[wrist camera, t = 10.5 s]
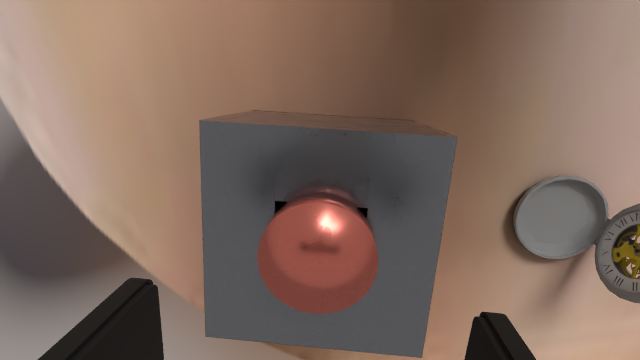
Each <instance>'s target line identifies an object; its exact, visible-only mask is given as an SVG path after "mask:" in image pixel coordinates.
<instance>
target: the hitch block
mask: <svg viewBox="0 0 640 360" xmlns="http://www.w3.org/2000/svg"><path fill="white" fill-rule="evenodd" d="M199 122H200V157H201V193H202V228H203V263H204V298H205V333H206V337H215V338H226V339H235V340H246V341H255V342H266V343H276V344H286V345H296V346H306V347H316V348H327V349H337V350H347V351H357V352H367V353H377V354H387V355H398V356H408V357H418V358H422V354H423V348H424V342H425V335H426V329H427V323H428V317H429V311H430V304H431V298H432V292H433V286H434V279H435V273H436V267H437V261H438V254H439V248H440V242H441V236H442V229H443V223H444V217H445V211H446V204H447V198H448V192H449V186H450V179H451V173H452V167H453V161H454V154H455V148H456V142H457V137H455V136H452V135H449V134H447V133H444V132H441V131H439V130H436V129H433V128H431V127H428V126H425V125H423V124H420V123H417V122H415V121H411V120H396V119H380V118H365V117H349V116H334V115H318V114H303V113H287V112H272V111H257V110H254V111H249V112H243V113H237V114H232V115H226V116H221V117H215V118H209V119H204V120H199ZM313 193H324V194H331V195H335V196H338V197H340V198H343V199H345V200H347V201H349V202H350V203H352V204H353V205H355V206H356V207H357V208H358V209H359V210H360V211H361V212H362V213H363V214H364V215H365V217H366V218H367V220H368V221H369V223H370V225H371V228H372V230H373V234H374V238H375V242H376V247H377V251H378V269H377V274H376V277H375V280H374V282H373V284H372V286H371V288H370V289H369V291H368V292H367V293H366V294H365V295H364V296H363V298H361V299H360V300H359V301H358V302H357V303H355V304H353V305H352V306H350V307H348V308H346V309H344V310H341V311H338V312H334V313H329V314H312V313H306V312H302V311H299V310H296V309H293V308H291V307H289V306H288V305H286V304H284V303H283V302H281V301H280V300H279V299H277V298H276V297H275V296H274V295H273V294H272V293H271V291H270V290H269V289H268V288H267V286H266V285H265V283H264V281H263V279H262V277H261V274H260V271H259V267H258V259H257V254H258V247H259V242H260V240H261V237H262V235H263V233H264V231H265V229H266V228H267V226H268V224H269V222H270V221H271V219H272V217H273V216H274V214H275V213H276V212H277V211H278V210H279V209H280V208H281V207H282V206H283V205H284V204H286V203H287V202H289V201H290V200H292V199H294V198H297V197H299V196H302V195H306V194H313Z"/></svg>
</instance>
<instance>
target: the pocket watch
mask: <svg viewBox="0 0 640 360" xmlns="http://www.w3.org/2000/svg"><path fill="white" fill-rule="evenodd" d="M513 225H514V229H515V233H516V236H517V238H518V239H519V241H520V242H521V244H522V245H523V246H524V247H525V248H526V249H527V250H529V251H530V252H532V253H533V254H535V255H538V256H540V257H543V258H549V259H564V258H569V257H572V256H575V255H577V254H579V253H582V252H583V251H585V250H586V249H587V248H589V247H590V246H591V245H593V244H595V245H596V249H595V264H596V270H597V272H598V275H599V277H600V279H601V281H602V282H603V283H604V285H605V286H606V287H607V289H608V290H609V291H611V292H612V293H614V294H615V295H617V296H618V297H620V298H622V299H625V300H628V301H631V302H634V303H640V276H638V278H635V276H636V274H640V243H639V244H638V243H636V241H637V238H638V237H639V236H640V204H637V205H634V206H632V207H629V208H627V209H624V210H622V211H621V212H619V213H618V214H616V215H615V216H614V217H613V218H612V219H611V220H610V219H608V204H607V201H606V199H605V197H604V195H603V193H602V192H601V191H600V190H599V189H598V188H597V187H596V186H595V185H594V184H593V183H591V182H589V181H587V180H585V179H582V178H579V177H573V176H555V177H552V178H549V179H545V180H542V181H541V182H539V183H537V184H536V185H534V186H532V187H531V188H530V189H529V190H528V191H527V192H526V193H525V194H524V195H523V196H522V198H521V199H520V201H519V203H518V204H517V206H516V209H515V212H514V220H513ZM635 235H636V237H635V240H632V238H633V237H634V236H635ZM626 257H629V258H630V259H629V260H628V259H626ZM626 260H627V261H626ZM630 263H632V264H635V265H636V266H635V267H632V264H631V269H634V270H632V274H630V272H629V271H628V270H627V268H626V267H627V266H628V265H629V264H630ZM638 269H639V273H637V272H638Z"/></svg>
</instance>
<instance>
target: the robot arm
mask: <svg viewBox="0 0 640 360" xmlns="http://www.w3.org/2000/svg"><path fill="white" fill-rule="evenodd" d="M159 308H160V307H159V296H158V287H157V286H156V285H153V282H152V280H150V279H141V278H130V279H128V280H127V281H126V282H124V283H123V284H122V285H121V286H120V287H119V288H118V289H117V290H115V291H114V292H113V293H112V294H111V295H110V296H109V297H108V298H107V299H105V301H103V302H102V303H101V304H100V305H99V306H98V307H96V308H95V309H94V310H93V311H92V312H91V313H90V314H88V315H87V316H86V317H85V318H84V319H83V320H82V321H81V322H80V323H78V324H77V325H76V326H75V327H74V328H73V329H72V330H71V331H69V332H68V333H67V334H66V335H65V336H64V337H63V338H62V339H61V340H59V341H58V342H57V343H56V344H55V345H54V346H53V347H52V348H50V349H49V350H48V351H47V352H46V353H45V354H44V355H43V356H42V357H40V358H39V359H38V360H164V354H163V342H162V331H161V319H160V309H159ZM465 360H536V359H535V357H534V356H533V354H532V353H531V351H530V350H529V348H528V347H527V345H526V344H525V342H524V341H523V340H522V338H521V337H520V335H519V334H518V332H517V331H516V329H515V328H514V326H513V325H512V323H511V322H510V321H509V319H508V318H507V316H506V315H505V314H501V313H491V312H482V313H481V314H480V316H479V317H477V316H476V317H474V319H473V323H472V328H471V332H470V337H469V341H468V346H467V351H466V355H465Z"/></svg>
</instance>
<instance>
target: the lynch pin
mask: <svg viewBox="0 0 640 360" xmlns="http://www.w3.org/2000/svg"><path fill="white" fill-rule="evenodd" d="M257 259H258V267H259V271H260V274H261V277H262V279H263V281H264V283H265V285H266V286H267V288H268V289H269V290H270V291H271V293H272V294H273V295H274V296H275V297H276V298H277V299H279V300H280V301H281V302H283V303H284V304H286V305H288V306H289V307H291V308H293V309H296V310H299V311H302V312H306V313H312V314H329V313H334V312H338V311H341V310H344V309H346V308H348V307H350V306H352V305H353V304H355V303H357V302H358V301H359V300H360V299H361V298H363V296H364V295H365V294H366V293H367V292H368V291H369V289H370V288H371V286H372V284H373V282H374V280H375V277H376V274H377V269H378V251H377V247H376V242H375V238H374V234H373V230H372V228H371V225H370V223H369V221H368V220H367V218H366V217H365V215H364V214H363V213H362V212H361V211H360V210H359V209H358V208H357V207H356V206H355V205H353V204H352V203H350V202H349V201H347V200H345V199H343V198H340V197H338V196H335V195H331V194H324V193H313V194H306V195H302V196H299V197H297V198H294V199H292V200H290V201H289V202H287V203H286V204H284V205H283V206H282V207H281V208H280V209H279V210H278V211H277V212H276V213H275V214H274V216H273V217H272V219H271V221H270V222H269V224H268V226H267V228H266V229H265V231H264V233H263V235H262V237H261V240H260V242H259V247H258V254H257Z"/></svg>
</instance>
